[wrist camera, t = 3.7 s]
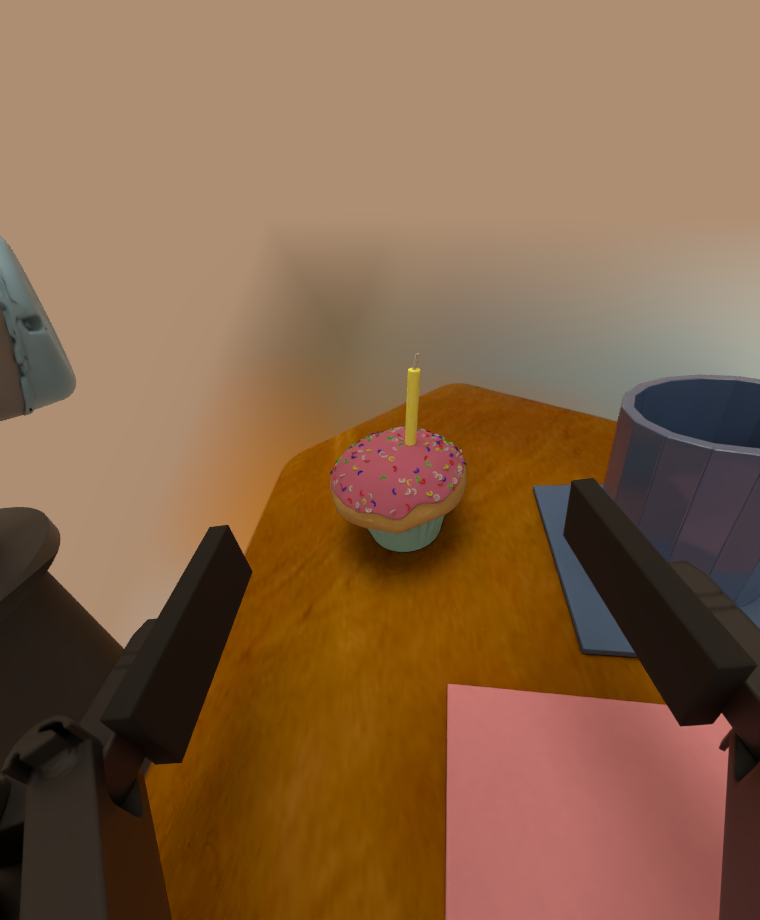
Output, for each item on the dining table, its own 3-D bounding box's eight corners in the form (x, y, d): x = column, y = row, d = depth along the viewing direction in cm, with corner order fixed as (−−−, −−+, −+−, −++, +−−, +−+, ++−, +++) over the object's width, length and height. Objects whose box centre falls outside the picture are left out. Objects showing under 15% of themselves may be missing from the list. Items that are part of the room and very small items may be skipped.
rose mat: (444, 1177, 8) (442, 1182, 8) (448, 687, 16) (447, 683, 16) (1522, 1610, 5) (1570, 1638, 4) (842, 726, 13) (848, 721, 13)
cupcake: (459, 485, 28) (451, 326, 21) (479, 574, 21) (476, 376, 14) (352, 495, 29) (314, 347, 23) (335, 583, 22) (273, 403, 15)
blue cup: (619, 611, 18) (669, 459, 13) (576, 510, 24) (599, 382, 19) (804, 620, 16) (941, 449, 11) (708, 509, 22) (770, 368, 17)
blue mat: (581, 653, 16) (583, 648, 16) (533, 489, 26) (533, 485, 26) (928, 679, 14) (935, 673, 13) (728, 485, 23) (731, 481, 23)
